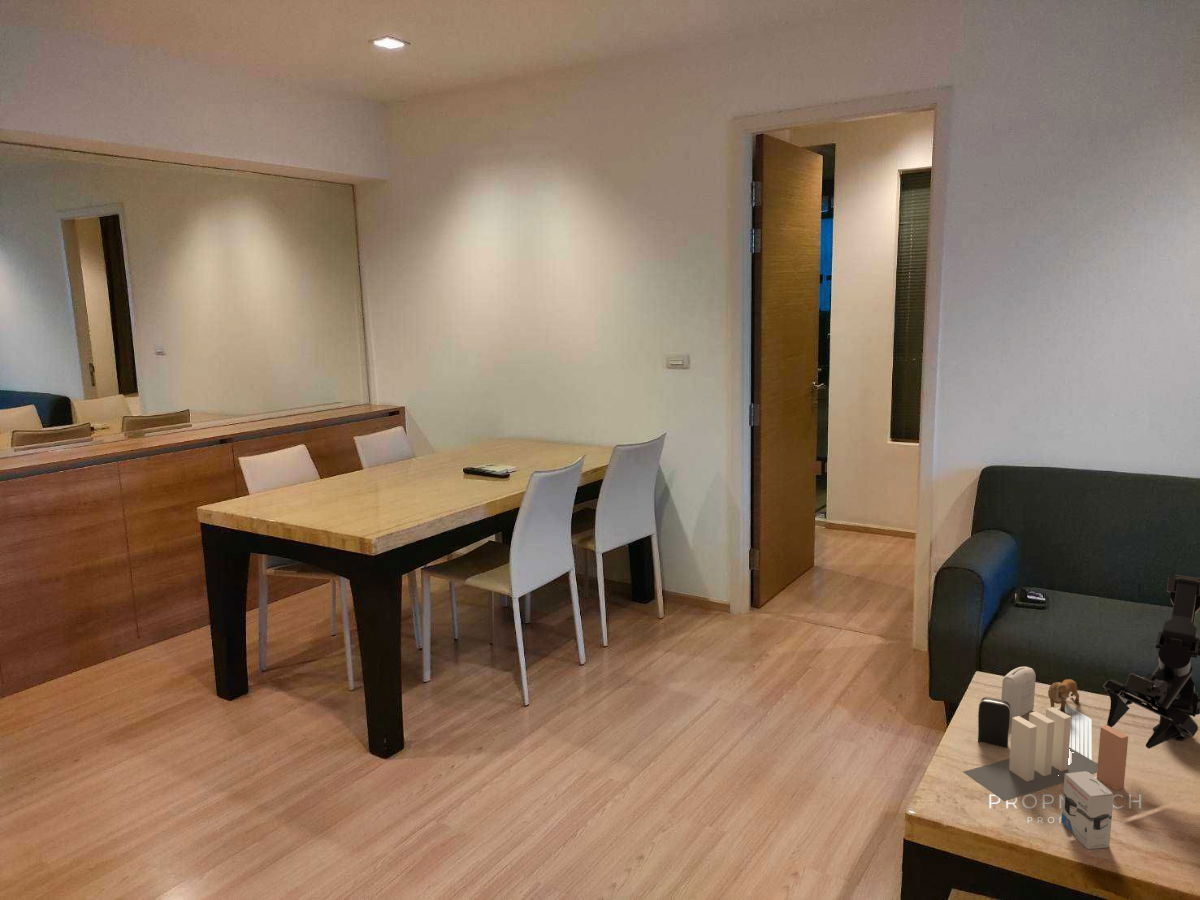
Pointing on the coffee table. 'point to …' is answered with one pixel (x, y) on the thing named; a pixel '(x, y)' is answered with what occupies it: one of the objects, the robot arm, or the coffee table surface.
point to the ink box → (1087, 809)
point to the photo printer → (1019, 690)
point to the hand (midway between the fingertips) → (1127, 737)
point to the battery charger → (994, 722)
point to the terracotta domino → (1112, 757)
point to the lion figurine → (1062, 693)
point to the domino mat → (1014, 786)
